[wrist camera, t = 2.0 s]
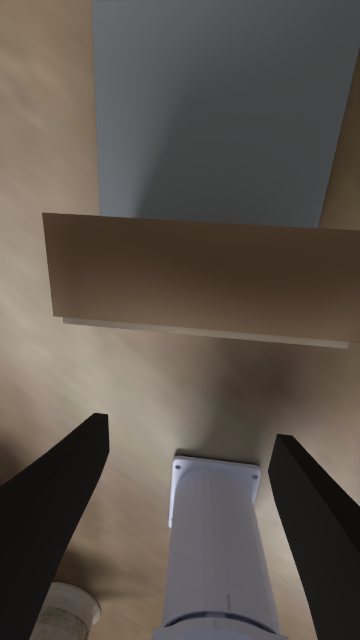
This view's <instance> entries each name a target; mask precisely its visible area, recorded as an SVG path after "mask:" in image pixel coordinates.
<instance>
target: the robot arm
mask: <svg viewBox="0 0 360 640" xmlns="http://www.w3.org/2000/svg"><path fill="white" fill-rule="evenodd" d="M108 454H109V427H108V414H100V413H94V414H92V415H91V416H90V417H89V418H88V419H86V420H85V421H84V422H83V423H82V424H80V425H79V426H78V427H77V428H76V429H74V430H73V431H72V432H71V433H70V434H68V435H67V436H66V437H65V438H64V439H62V440H61V441H60V442H59V443H57V444H56V445H55V446H54V447H53V448H51V449H50V450H49V451H48V452H46V453H45V454H44V455H43V456H41V457H40V458H39V459H37V460H36V461H35V462H33V463H32V464H31V465H29V466H28V467H27V468H25V469H24V470H23V471H21V472H20V473H19V474H17V475H16V476H15V477H13V478H12V479H10V480H9V481H8V482H6V483H5V484H3V485H2V486H0V640H29V639H30V637H31V634H32V631H33V629H34V626H35V624H36V621H37V619H38V616H39V613H40V611H41V608H42V606H43V603H44V601H45V598H46V596H47V593H48V591H49V588H50V586H51V583H52V581H53V578H54V576H55V573H56V571H57V568H58V566H59V563H60V561H61V559H62V557H63V554H64V552H65V550H66V548H67V546H68V543H69V541H70V539H71V537H72V535H73V533H74V531H75V529H76V527H77V525H78V523H79V521H80V518H81V516H82V514H83V512H84V510H85V508H86V506H87V504H88V502H89V500H90V498H91V496H92V493H93V491H94V489H95V487H96V485H97V483H98V481H99V479H100V476H101V473H102V471H103V468H104V465H105V463H106V460H107V457H108ZM178 465H179V466H178ZM268 474H269V478H270V483H271V488H272V492H273V496H274V500H275V504H276V507H277V510H278V513H279V516H280V519H281V522H282V525H283V528H284V531H285V534H286V537H287V540H288V543H289V546H290V549H291V552H292V555H293V558H294V561H295V564H296V567H297V570H298V573H299V576H300V579H301V582H302V585H303V588H304V591H305V595H306V598H307V601H308V604H309V608H310V612H311V616H312V619H313V623H314V627H315V631H316V634H317V638H318V640H360V506H359V505H358V504H357V503H356V502H355V501H354V500H353V499H352V498H351V497H350V496H349V495H348V494H347V493H346V492H345V491H344V490H343V489H342V488H341V487H340V486H339V485H338V484H337V483H336V482H335V481H334V480H333V479H332V478H331V477H330V476H329V475H328V473H327V472H326V471H325V470H324V469H323V468H322V467H321V466H320V465H319V464H318V463H317V462H316V461H315V460H314V458H313V457H312V456H311V455H310V454H309V453H308V452H307V451H306V450H305V449H304V448H303V447H302V445H301V444H300V443H299V442H298V441H297V440H296V439H295V438H294V437H293V436H291V435H283V434H277V436H276V440H275V444H274V448H273V452H272V456H271V461H270V465H269V469H268ZM260 477H261V469H260V467H259V466H257V465H250V464H242V463H235V462H227V461H219V460H211V459H203V458H195V457H187V456H175V457H174V458H173V468H172V482H171V496H170V510H169V524H168V525H169V527H170V528H171V535H170V545H169V555H168V565H167V575H166V585H165V595H164V605H163V615H162V625H161V628H154V629H153V634H152V640H289V638H288V637H287V636H285V635H282V631H281V627H280V622H279V618H278V613H277V609H276V604H275V600H274V595H273V591H272V586H271V582H270V577H269V573H268V568H267V564H266V559H265V555H264V550H263V546H262V541H261V537H260V532H259V528H258V523H257V519H256V514H255V510H254V503H255V499H256V495H257V490H258V486H259V482H260Z"/></svg>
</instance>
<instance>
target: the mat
mask: <svg viewBox="0 0 360 640" xmlns="http://www.w3.org/2000/svg"><path fill="white" fill-rule="evenodd" d="M92 21H93V46H94V72H95V97H96V122H97V148H98V173H99V198H100V216H110V217H127V218H145V219H163V220H180V221H198V222H216V223H233V224H251V225H269V226H286V227H304V228H318V226H319V221H320V217H321V213H322V208H323V204H324V200H325V195H326V191H327V187H328V182H329V178H330V174H331V169H332V165H333V161H334V156H335V152H336V148H337V143H338V139H339V135H340V130H341V126H342V122H343V118H344V113H345V109H346V105H347V100H348V96H349V92H350V87H351V83H352V79H353V74H354V70H355V66H356V61H357V57H358V53H359V48H360V0H92Z"/></svg>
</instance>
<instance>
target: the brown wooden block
mask: <svg viewBox="0 0 360 640" xmlns="http://www.w3.org/2000/svg"><path fill="white" fill-rule="evenodd" d="M42 216H43V225H44V234H45V243H46V252H47V261H48V271H49V280H50V289H51V298H52V307H53V316H57V317H63V323H65V324H76V325H87V326H99V327H110V328H121V329H132V330H143V331H154V332H166V333H177V334H188V335H199V336H210V337H222V338H233V339H244V340H255V341H266V342H277V343H289V344H300V345H311V346H322V347H333V348H344V349H347V348H348V345H349V342H354V343H360V231H357V230H339V229H321V228H304V227H286V226H269V225H251V224H233V223H216V222H198V221H180V220H163V219H145V218H127V217H110V216H92V215H74V214H57V213H42Z"/></svg>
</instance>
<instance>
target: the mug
mask: <svg viewBox="0 0 360 640" xmlns="http://www.w3.org/2000/svg"><path fill="white" fill-rule="evenodd" d="M100 610H101V608H100V606H99V604H98V602H97V601H96V600H95V599H94V598H93V597H92V596H91V595H90V594H89V593H87V592H86V591H84V590H82V589H81V588H78V587H76V586H73V585H71V584H66V583H61V582H52V583H51V586H50V588H49V591H48V593H47V596H46V598H45V601H44V603H43V606H42V608H41V611H40V613H39V616H38V619H37V621H36V624H35V626H34V629H33V631H32V634H31V637H30V639H29V640H88V636H89V632H90V629H91V627H92V625H93V624H95V623H96V622H97V620H98V619H99V617H100Z"/></svg>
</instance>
